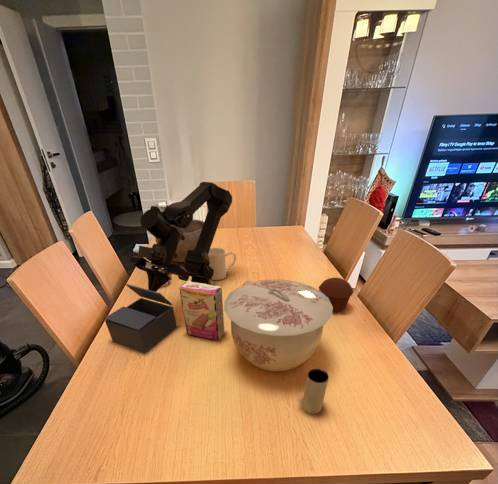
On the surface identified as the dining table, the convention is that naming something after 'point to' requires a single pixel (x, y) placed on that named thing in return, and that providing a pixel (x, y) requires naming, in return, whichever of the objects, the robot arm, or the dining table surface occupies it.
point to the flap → (149, 294)
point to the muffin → (337, 292)
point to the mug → (219, 262)
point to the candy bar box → (203, 310)
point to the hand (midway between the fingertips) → (150, 294)
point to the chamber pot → (277, 322)
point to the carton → (141, 324)
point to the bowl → (187, 239)
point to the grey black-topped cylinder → (315, 390)
